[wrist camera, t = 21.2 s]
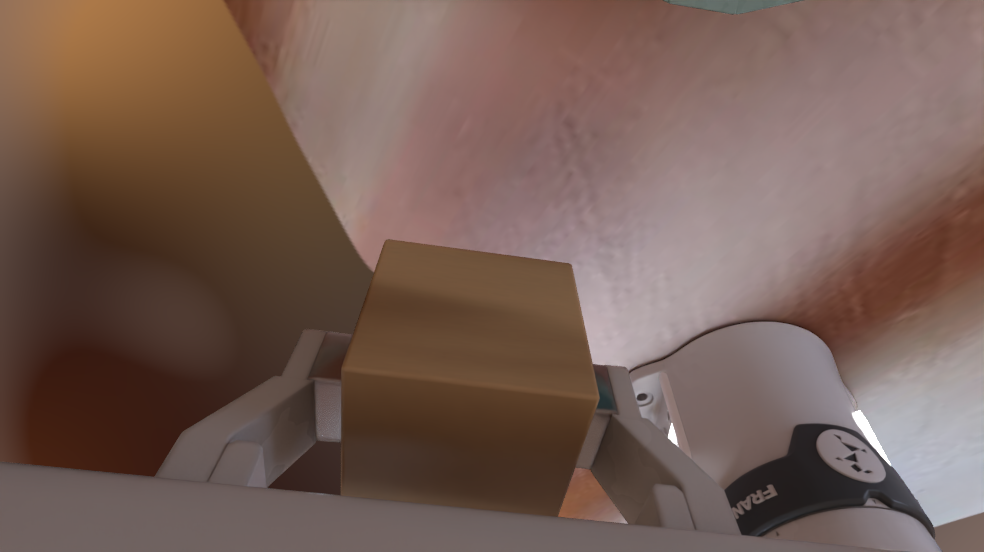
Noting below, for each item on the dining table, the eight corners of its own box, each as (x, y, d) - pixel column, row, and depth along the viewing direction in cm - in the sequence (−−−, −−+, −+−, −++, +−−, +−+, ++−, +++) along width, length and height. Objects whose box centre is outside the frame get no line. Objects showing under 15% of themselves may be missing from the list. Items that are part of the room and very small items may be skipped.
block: (536, 395, 16) (549, 545, 12) (378, 377, 16) (339, 525, 12) (572, 262, 13) (601, 398, 10) (385, 237, 13) (340, 367, 9)
